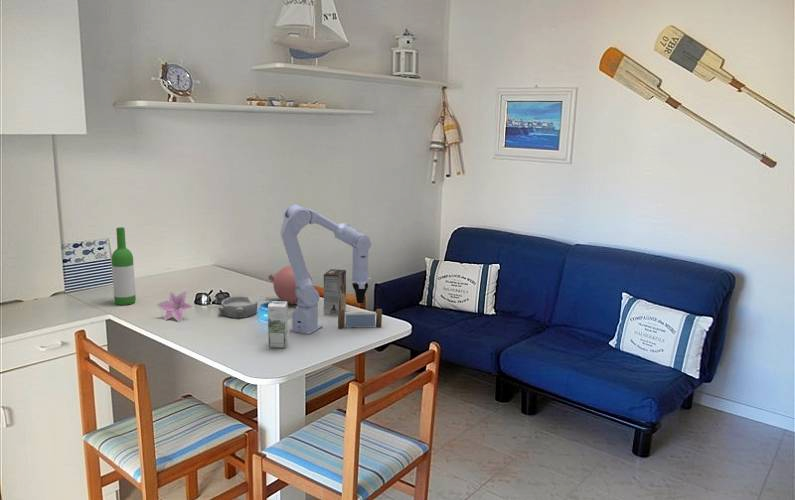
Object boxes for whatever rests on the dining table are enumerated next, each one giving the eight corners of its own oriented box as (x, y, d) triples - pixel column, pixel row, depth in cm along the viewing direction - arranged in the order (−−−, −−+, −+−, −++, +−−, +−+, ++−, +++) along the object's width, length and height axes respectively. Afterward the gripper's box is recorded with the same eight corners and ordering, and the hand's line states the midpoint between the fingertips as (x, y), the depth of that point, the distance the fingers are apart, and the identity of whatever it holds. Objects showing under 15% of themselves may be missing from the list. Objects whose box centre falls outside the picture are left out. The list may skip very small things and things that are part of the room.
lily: (155, 319, 237) (150, 301, 231) (180, 301, 245) (176, 283, 238) (177, 334, 233) (172, 316, 226) (202, 315, 240) (198, 297, 234)
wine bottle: (133, 299, 257) (129, 225, 251) (137, 304, 251) (133, 228, 245) (113, 301, 253) (107, 227, 247) (116, 306, 247) (111, 230, 241)
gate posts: (338, 328, 228) (338, 311, 227) (337, 326, 231) (337, 309, 229) (381, 327, 230) (382, 310, 229) (381, 325, 233) (381, 308, 231)
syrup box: (288, 342, 214) (287, 300, 211) (285, 348, 208) (285, 305, 205) (271, 342, 214) (270, 300, 210) (268, 348, 208) (267, 305, 205)
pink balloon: (283, 293, 271) (282, 258, 267) (320, 301, 260) (320, 264, 257) (257, 302, 258) (256, 264, 255) (295, 311, 247) (294, 272, 244)
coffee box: (330, 308, 252) (330, 268, 249) (346, 309, 251) (346, 269, 247) (323, 315, 243) (323, 274, 240) (339, 316, 242) (339, 275, 239)
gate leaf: (345, 326, 229) (345, 313, 228) (345, 325, 231) (345, 312, 229) (375, 326, 230) (375, 312, 229) (375, 324, 232) (375, 311, 231)
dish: (239, 305, 253) (239, 293, 252) (265, 312, 246) (265, 299, 245) (211, 315, 241) (211, 302, 240) (238, 321, 234) (238, 308, 233)
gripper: (373, 271, 225) (372, 308, 228) (369, 261, 239) (369, 296, 242) (353, 271, 224) (353, 308, 227) (350, 262, 238) (350, 297, 241)
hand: (360, 302), depth 234 cm, fingers closed
